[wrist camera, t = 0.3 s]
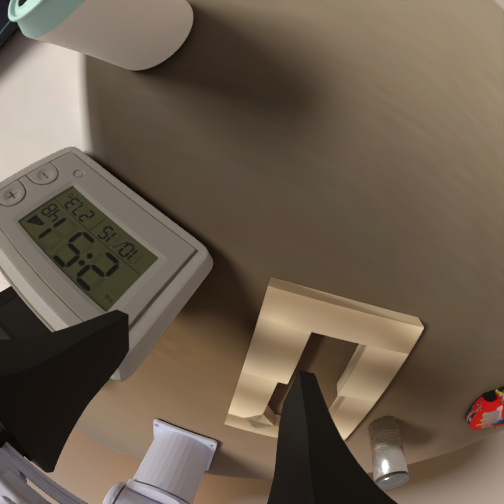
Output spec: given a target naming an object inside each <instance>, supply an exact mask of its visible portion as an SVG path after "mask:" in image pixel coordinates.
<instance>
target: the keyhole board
mask: <svg viewBox="0 0 504 504" xmlns="http://www.w3.org/2000/svg"><path fill="white" fill-rule="evenodd" d="M423 329H424V326H423V325H422V323H421V322H420V320H419V318H418V317H414V316H410V315H407V314H403V313H399V312H395V311H391V310H388V309H384V308H380V307H377V306H373V305H369V304H366V303H362V302H358V301H355V300H351V299H347V298H344V297H340V296H336V295H333V294H329V293H326V292H322V291H319V290H315V289H312V288H308V287H305V286H301V285H298V284H294V283H291V282H287V281H284V280H280V279H277V278H273V277H271V278H270V281H269V285H268V288H267V291H266V295H265V298H264V301H263V305H262V308H261V311H260V314H259V318H258V321H257V324H256V327H255V331H254V334H253V337H252V340H251V343H250V347H249V350H248V353H247V356H246V359H245V362H244V366H243V369H242V372H241V375H240V378H239V381H238V384H237V387H236V390H235V393H234V396H233V399H232V402H231V405H230V408H229V411H228V414H227V417H226V420H225V423H224V424H226V425H229V426H233V427H236V428H240V429H243V430H247V431H251V432H255V433H259V434H263V435H267V436H272V437H276V438H278V431H279V422H280V417H281V415H277V414H275V413H274V412H273V411H272V410H271V409H270V407H269V406H268V405H267V404H268V402H269V400H270V398H271V396H272V394H273V391H274V389H275V387H276V385H277V383H278V382H280V383H284V384H288V382H289V380H290V378H291V376H292V374H293V372H294V369H295V367H296V365H297V363H298V361H299V359H300V356H301V354H302V352H303V350H304V348H305V345H306V343H307V341H308V339H309V336H310V334H311V332H314V333H318V334H322V335H326V336H330V337H334V338H338V339H342V340H346V341H350V342H354V343H359V345H358V347H357V349H356V351H355V352H354V354H353V356H352V358H351V360H350V361H349V363H348V365H347V367H346V368H345V370H344V372H343V373H342V375H341V377H340V379H339V380H338V382H337V393H338V396H337V398H336V399H335V401H334V402H333V404H332V405H331V407H330V408H329V412H330V415H331V417H332V419H333V421H334V423H335V425H336V427H337V429H338V431H339V433H340V435H341V437H342V439H343V441H344V440H345V439H346V438H347V437H348V436H349V435H350V434H351V432H352V431H353V430H354V429H355V428H356V427H357V425H358V424H359V423H360V422H361V420H362V419H363V418H364V417H365V416H366V414H367V413H368V412H369V410H370V409H371V408H372V407H373V405H374V404H375V403H376V401H377V400H378V399H379V397H380V396H381V395H382V393H383V392H384V391H385V389H386V388H387V386H388V385H389V383H390V382H391V381H392V379H393V378H394V376H395V375H396V373H397V372H398V370H399V369H400V367H401V366H402V364H403V363H404V361H405V359H406V358H407V356H408V355H409V353H410V351H411V350H412V348H413V346H414V345H415V343H416V341H417V340H418V338H419V336H420V334H421V333H422V331H423Z"/></svg>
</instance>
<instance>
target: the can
mask: <svg viewBox="0 0 504 504" xmlns="http://www.w3.org/2000/svg"><path fill="white" fill-rule="evenodd" d="M8 17H9V20H10V21H13V22H17V23H18V25H19V27H20V29H21V31H22V33H23V34H24V35H25V36H26V37H28V38H31V39H36V40H40V41H43V42H47V43H51V44H55V45H58V46H61V47H65V48H68V49H71V50H75V51H78V52H81V53H84V54H87V55H90V56H93V57H95V58H98V59H101V60H104V61H107V62H109V63H112V64H114V65H117V66H120V67H122V68H125V69H128V70H144V69H148V68H151V67H153V66H156V65H158V64H160V63H161V62H163V61H165V60H166V59H167V58H169V57H170V56H171V55H173V54H174V53H175V52H176V51H177V50H178V49H179V48H180V46H181V45H182V44H183V43H184V41H185V40H186V38H187V37H188V35H189V33H190V30H191V28H192V24H193V11H192V8H191V6H190V4H189V3H188V2H187V1H186V0H11V1H10V4H9V8H8Z"/></svg>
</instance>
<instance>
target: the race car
mask: <svg viewBox="0 0 504 504" xmlns="http://www.w3.org/2000/svg"><path fill="white" fill-rule="evenodd" d="M465 419H466V422H467V424H468V426H469V428H471V429H481V428H485V427H489V426H494V429H495V428H496V426H502V425H504V387H502V388H499V389H497V390H495V392H494V391H492V390H491V391H489V392H486V393H484V394H483V396H482V397H480V398H479V399H478V400H477V401H476V402H475V403H474V404H473V405H472V407H471V408H470V409H469V411H468V412H467V414H466V417H465Z"/></svg>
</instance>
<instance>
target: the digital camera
mask: <svg viewBox="0 0 504 504" xmlns="http://www.w3.org/2000/svg"><path fill="white" fill-rule="evenodd" d="M47 333H51V331H50V330H49V329H48V328H47V326H46V325H45V324H44V323H43V322H42V321H41V320H40V319H39V318H38V317H37V316H36V315H35V313H34V312H33V311H32V310H31V309H30V308H29V307H28V305H27V304H26V303H25V302H24V301H23V300H22V298H21V297H20V296H19V295H18V294H17V292H16V291H15V290H14V289H13V287H12V286H10V287H9V288H7V289H5V290H3V291H2V292H0V340H4V339H17V338H26V337H33V336H38V335H43V334H47Z"/></svg>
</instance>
